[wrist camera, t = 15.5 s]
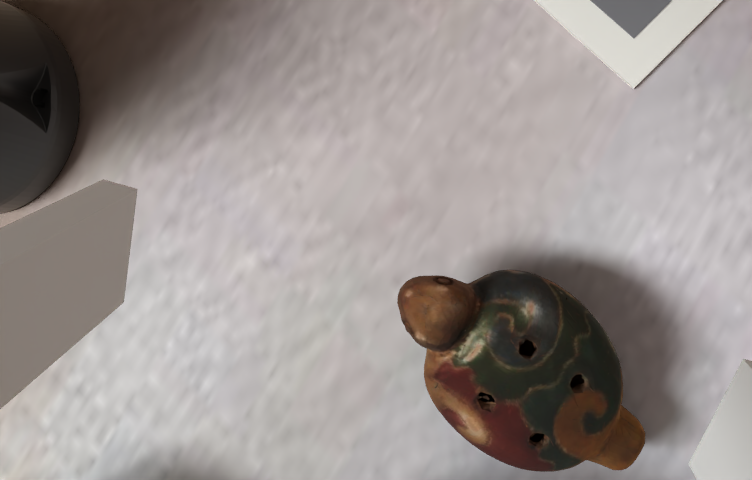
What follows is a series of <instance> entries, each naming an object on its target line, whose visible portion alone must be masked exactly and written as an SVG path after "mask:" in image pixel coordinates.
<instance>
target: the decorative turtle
mask: <svg viewBox="0 0 752 480" xmlns="http://www.w3.org/2000/svg"><path fill="white" fill-rule="evenodd" d="M398 306H399V310H400V314H401V319H402V322H403V324H404V325H405V328H406V331H407V332H409V333H410V335H411V336H412V337H413V339H414V340H415V341H416V342H417V343H418V344H420V345H421V346H422V347H425V348H427V353H426V359H425V365H424V377H425V383H426V387H427V390H428V392H429V395H430V397H431V399H432V401H433V403H434V404H435V406H436V407H437V409H438V410H439V411H440V413H441V414H442V415H443V416H444V418H445V419H446V420H447V421H448V422H449V423H450V424H451V426H452V427H453V428H454V429H455V430H456V431H457V432H458V433H459V434H461V435H462V436H463V437H464V438H465V439H466V440H468V441H469V442H470V443H471V444H472V445H474V446H475V447H477V448H478V449H480V450H481V451H483V452H484V453H486V454H488V455H489V456H491V457H493V458H495V459H497V460H499V461H501V462H504V463H506V464H508V465H511V466H515V467H518V468H521V469H525V470H531V471H559V470H564V469H568V468H571V467H574V466H576V465H578V464H580V463H582V462H583V461H585V460H589V461H592V462H595V463H598V464H601V465H603V466H605V467H608V468H610V469H612V470H623V469H626V468H628V467H629V466H630V465H632V463H633V462H634V461H635V460H636V458H637V457H638V455H639V454H640V452H641V450H642V448H643V446H644V444H645V431H644V429H643V427H642V425H641V424H640V422H639V421H638V419H637V418H635V417H634V416H633V415H632V414H631V413H630V412H629V411H628V410H627V409H626V408H624V407H623V406H622V405H621V402H622V398H623V383H622V371H621V367H620V363H619V360H618V357H617V354H616V352H615V349H614V347H613V345H612V343H611V342H610V340H609V338H608V336H607V334H606V332H605V331H604V330H603V328H602V327H601V326H600V324H599V323H598V321H597V320H596V319H595V318H594V317H593V315H592V314H591V313H590V312H589V311H588V310H587V309H586V308H585V307H584V306H583V305H582V304H581V303H580V302H579V301H578V300H577V299H576V298H575V297H574V296H572V295H571V294H570V293H569V292H567V291H566V290H564V289H563V288H562V287H560V286H558V285H557V284H555V283H553V282H551V281H549V280H547V279H545V278H542V277H540V276H537V275H535V274H531V273H528V272H523V271H516V270H502V271H496V272H493V273H490V274H487V275H485V276H483V277H481V278H479V279H477V280H475V281H473V282H471V283H469V284H466V283H463V282H461V281H458V280H456V279H453V278H449V277H444V276H418V277H415V278H412V279H410V280H409V281H407V282H406V283H405V284H404V285H403V286H402V287H401V289H400V291H399V294H398Z"/></svg>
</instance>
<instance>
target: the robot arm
mask: <svg viewBox="0 0 752 480" xmlns="http://www.w3.org/2000/svg"><path fill="white" fill-rule="evenodd" d="M78 119H79V92H78V84H77V80H76V75H75V72H74V68H73V66H72V63H71V60H70V58H69V56H68V54H67V52H66V50H65V48H64V47H63V45H62V43H61V42H60V40H59V39H58V38H57V36H56V35H55V34H54V33H53V32H52V31H51V30H50V29H49V28H48V27H47V26H46V25H45V24H44V23H43V22H42V21H40V20H39V19H37V18H36V17H34V16H33V15H31V14H29V13H27V12H25V11H23V10H21V9H18V8H16V7H14V6H12V5H10V4H7V3H5V2H3V1H0V213H5V212H9V211H12V210H15V209H17V208H19V207H22V206H24V205H25V204H27V203H29V202H31V201H32V200H33V199H35V198H36V197H37V196H39V195H40V194H41V193H42V192H43V191H44V190H45V189H47V187H48V186H49V185H50V184H51V183H52V182H53V181H54V179H55V178H56V177H57V175H58V174H59V172H60V171H61V169H62V168H63V166H64V164H65V162H66V160H67V158H68V156H69V154H70V151H71V149H72V146H73V143H74V140H75V136H76V132H77V127H78ZM136 197H137V189H135V188H132V187H128V186H125V185H121V184H117V183H114V182H110V181H107V180H101V181H99V182H97V183H95V184H93V185H91V186H89V187H86V188H84V189H82V190H80V191H78V192H76V193H74V194H72V195H70V196H67V197H65V198H63V199H61V200H59V201H57V202H55V203H53V204H51V205H48V206H46V207H44V208H42V209H40V210H38V211H36V212H34V213H32V214H29V215H27V216H25V217H23V218H21V219H19V220H17V221H15V222H13V223H10V224H8V225H6V226H4V227H2V228H0V409H1V408H2V407H3V406H4V405H6V404H7V403H8V402H9V401H10V400H11V399H12V398H14V397H15V396H16V395H17V394H18V393H19V392H21V391H22V390H23V389H24V388H25V387H26V386H27V385H29V384H30V383H31V382H32V381H33V380H34V379H36V378H37V377H38V376H39V375H40V374H41V373H43V372H44V371H45V370H46V369H47V368H48V367H49V366H51V365H52V364H53V363H54V362H55V361H56V360H58V359H59V358H60V357H61V356H62V355H63V354H64V353H66V352H67V351H68V350H69V349H70V348H71V347H73V346H74V345H75V344H76V343H77V342H78V341H79V340H81V339H82V338H83V337H84V336H85V335H86V334H88V333H89V332H90V331H91V330H92V329H93V328H95V327H96V326H97V325H98V324H99V323H100V322H101V321H103V320H104V319H105V318H106V317H107V316H108V315H110V314H111V313H112V312H113V311H114V310H115V309H116V308H118V307H119V306H120V305H121V304H122V303H123V302H124V296H125V288H126V279H127V271H128V263H129V255H130V247H131V238H132V230H133V222H134V214H135V205H136ZM689 466H690V468H691V470H692V472H693V474H694V476H695V478H696V480H752V361H749V360H746V359H743V360H742V362H741V364H740V366H739V368H738V370H737V372H736V374H735V376H734V378H733V380H732V381H731V383H730V385H729V387H728V389H727V391H726V393H725V395H724V397H723V399H722V401H721V403H720V405H719V406H718V408H717V410H716V412H715V414H714V416H713V418H712V420H711V422H710V424H709V426H708V428H707V430H706V431H705V433H704V435H703V437H702V439H701V441H700V443H699V445H698V447H697V449H696V451H695V453H694V454H693V456H692V458H691V460H690V462H689Z"/></svg>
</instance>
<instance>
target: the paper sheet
mask: <svg viewBox="0 0 752 480" xmlns="http://www.w3.org/2000/svg"><path fill="white" fill-rule="evenodd" d="M534 1H535V2H536V3H537V4H538V5H539V6H540V7H541V8H542V9H544V10H545V11H546V12H547V13H548V14H549V15H550V16H551V17H553V18H554V19H555V20H556V21H557V22H558V23H559V24H560V25H562V26H563V27H564V28H565V29H566V30H567V31H568V32H569V33H570V34H572V35H573V36H574V37H575V38H576V39H577V40H578V41H579V42H581V43H582V44H583V45H584V46H585V47H586V48H587V49H588V50H589V51H591V52H592V53H593V54H594V55H595V56H596V57H597V58H598V59H600V60H601V61H602V62H603V63H604V64H605V65H606V66H607V67H608V68H610V69H611V70H612V71H613V72H614V73H615V74H616V75H617V76H619V77H620V78H621V79H622V80H623V81H624V82H625V83H626V84H627V85H629V86H630V87H631V88H632V89H634V88H635V87H636V86H637V85H638V84H639V83H640V82H641V81H642V80H643V79H644V78H645V77H646V76H647V75H648V74H649V73H650V72H651V71H652V70H653V69H654V68H655V67H656V66H657V65H658V64H659V63H660V62H661V61H662V60H663V59H664V58H665V57H666V56H667V55H668V54H669V53H670V52H671V51H672V50H673V49H674V48H675V47H676V46H677V45H678V44H679V43H680V42H681V41H682V40H683V39H684V38H685V37H686V36H687V35H688V34H689V33H690V32H691V31H692V30H693V29H694V28H696V27H697V26H698V25H699V24H700V23H701V22H702V21H703V20H704V19H705V18H706V17H707V16H708V15H709V14H710V13H711V12H712V11H713V10H714V9H715V8H716V7H717V6H718V5H719V4H720V3H721V2H722V1H723V0H534Z"/></svg>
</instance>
